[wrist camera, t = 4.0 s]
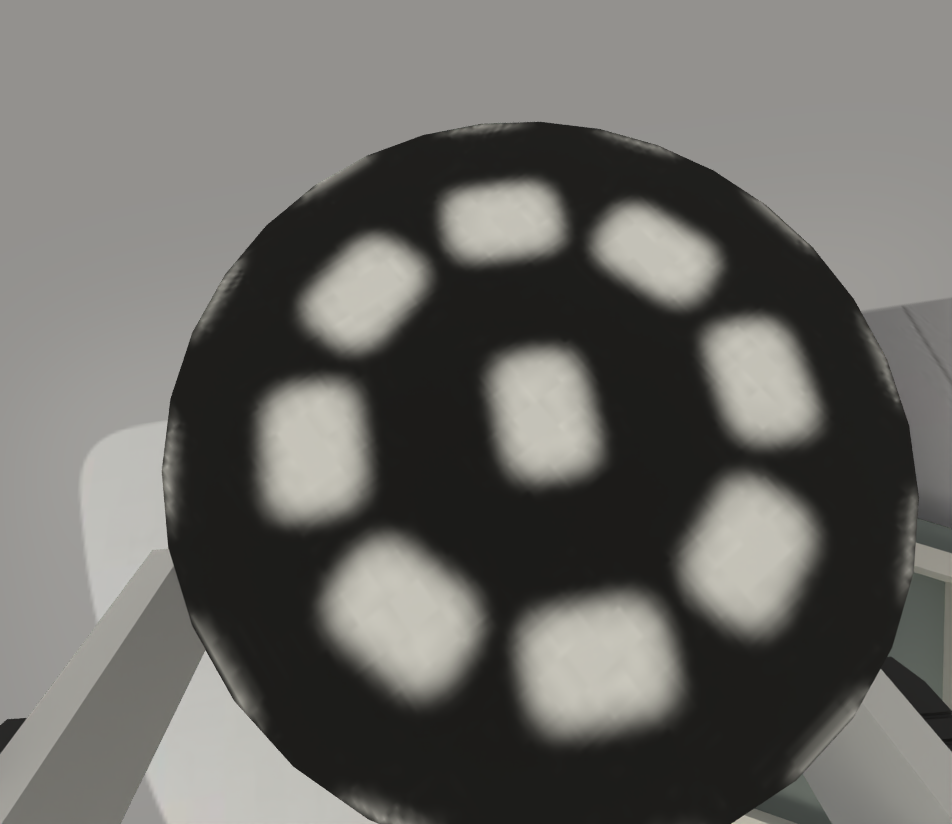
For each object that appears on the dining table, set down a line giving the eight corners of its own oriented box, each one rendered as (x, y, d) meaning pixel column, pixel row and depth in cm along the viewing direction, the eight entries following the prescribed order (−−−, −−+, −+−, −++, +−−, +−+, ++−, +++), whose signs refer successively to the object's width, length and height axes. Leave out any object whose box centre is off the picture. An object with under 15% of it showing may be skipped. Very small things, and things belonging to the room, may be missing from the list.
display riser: (959, 550, 25) (1055, 550, 21) (953, 925, 20) (1075, 1019, 16) (620, 447, 26) (649, 428, 22) (544, 781, 21) (562, 833, 17)
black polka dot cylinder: (392, 456, 25) (167, 159, 6) (544, 432, 26) (769, 91, 7) (411, 623, 23) (152, 965, 4) (578, 593, 24) (1065, 764, 4)
